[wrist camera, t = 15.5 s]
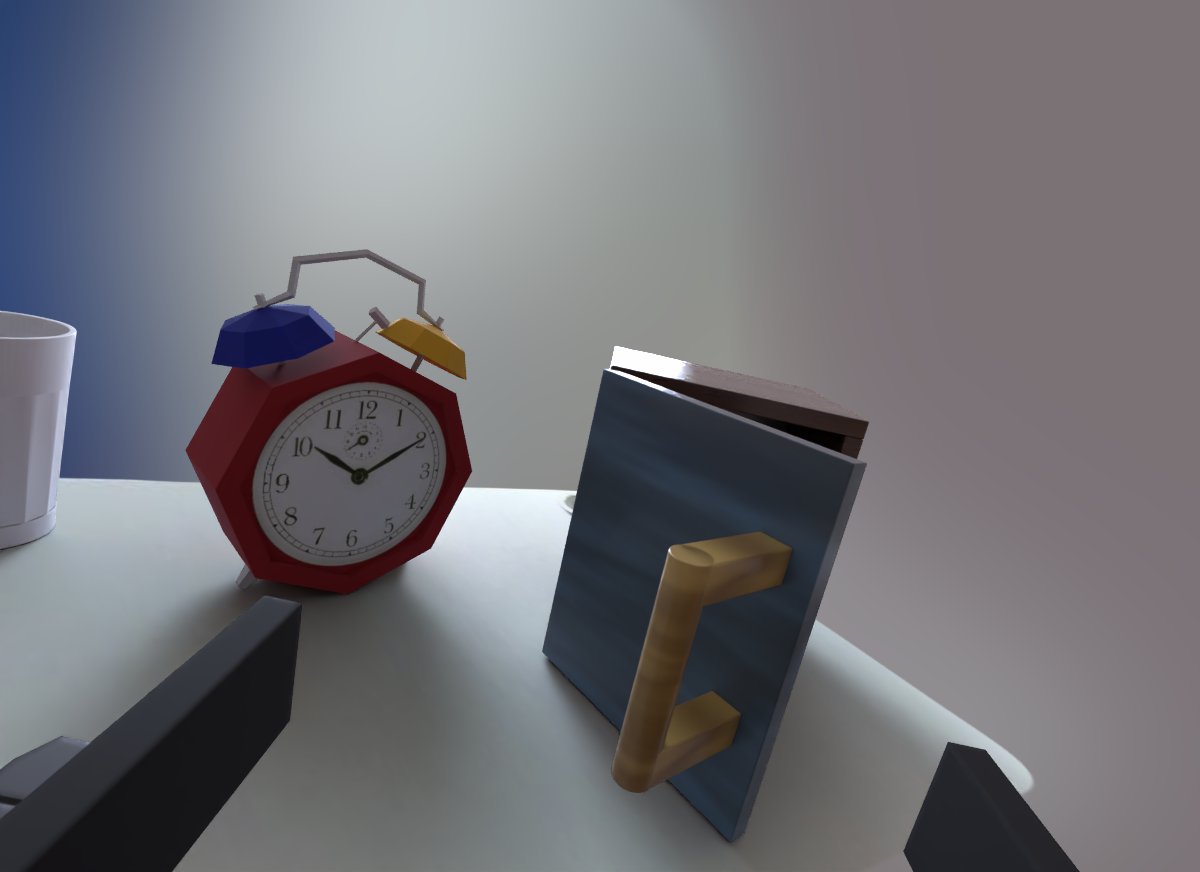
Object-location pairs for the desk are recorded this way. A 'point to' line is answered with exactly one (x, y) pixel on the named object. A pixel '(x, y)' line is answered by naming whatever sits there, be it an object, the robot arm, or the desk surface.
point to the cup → (31, 422)
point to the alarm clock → (330, 442)
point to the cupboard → (752, 399)
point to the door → (694, 586)
